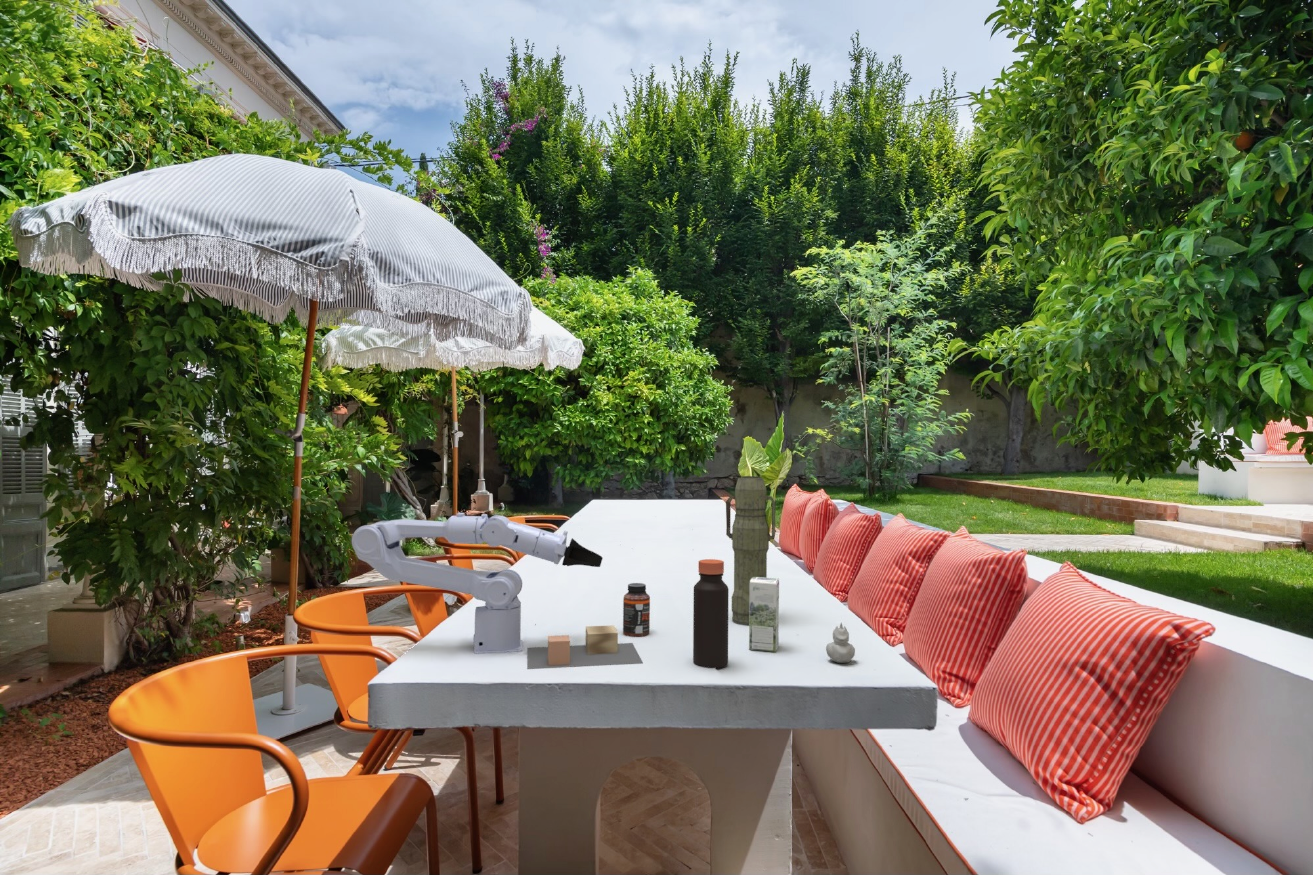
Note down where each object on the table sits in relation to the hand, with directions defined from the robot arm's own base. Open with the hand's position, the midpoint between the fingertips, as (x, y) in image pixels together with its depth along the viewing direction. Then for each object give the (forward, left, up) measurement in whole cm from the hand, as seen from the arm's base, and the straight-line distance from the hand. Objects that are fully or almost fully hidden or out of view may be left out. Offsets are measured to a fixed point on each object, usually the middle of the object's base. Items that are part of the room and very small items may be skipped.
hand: (601, 562), depth 146 cm
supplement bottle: (+9, +10, -18) cm, 23 cm away
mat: (-4, -5, -18) cm, 19 cm away
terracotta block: (-9, -8, -18) cm, 21 cm away
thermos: (+38, +18, -18) cm, 46 cm away
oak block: (0, -1, -18) cm, 18 cm away
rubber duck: (+46, -15, -18) cm, 52 cm away
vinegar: (+20, -13, -18) cm, 30 cm away
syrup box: (+34, -4, -18) cm, 39 cm away
